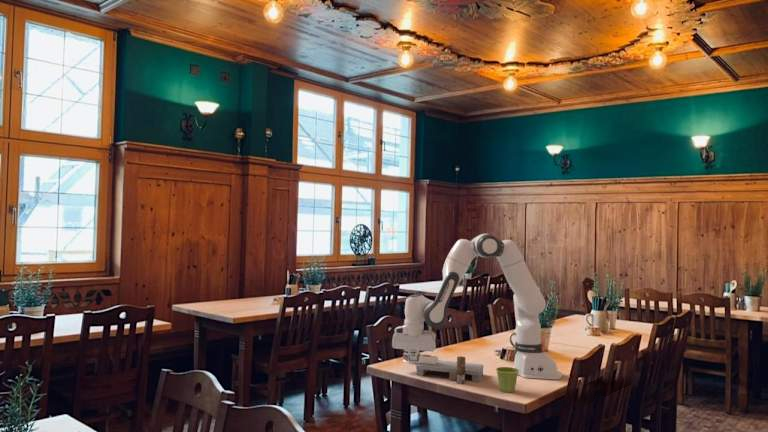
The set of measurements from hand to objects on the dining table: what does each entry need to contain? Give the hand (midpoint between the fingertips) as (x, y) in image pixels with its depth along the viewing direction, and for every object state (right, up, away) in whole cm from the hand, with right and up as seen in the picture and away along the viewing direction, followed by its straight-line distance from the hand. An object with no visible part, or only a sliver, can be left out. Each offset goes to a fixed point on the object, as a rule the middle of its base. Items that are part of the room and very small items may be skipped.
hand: (413, 359), depth 264 cm
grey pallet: (+16, -6, -5) cm, 18 cm away
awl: (+19, -6, -19) cm, 27 cm away
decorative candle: (0, -6, +19) cm, 20 cm away
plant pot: (+37, -6, -29) cm, 47 cm away
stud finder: (+7, -1, -2) cm, 7 cm away
